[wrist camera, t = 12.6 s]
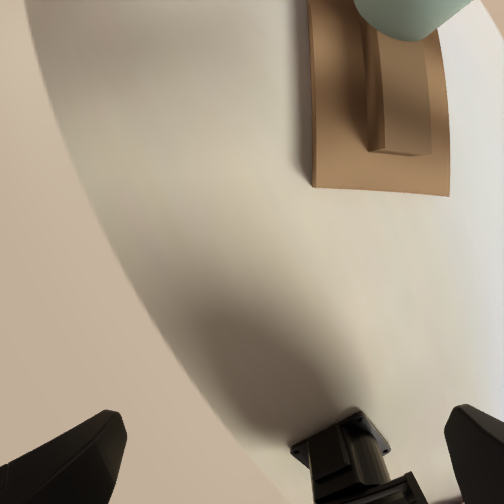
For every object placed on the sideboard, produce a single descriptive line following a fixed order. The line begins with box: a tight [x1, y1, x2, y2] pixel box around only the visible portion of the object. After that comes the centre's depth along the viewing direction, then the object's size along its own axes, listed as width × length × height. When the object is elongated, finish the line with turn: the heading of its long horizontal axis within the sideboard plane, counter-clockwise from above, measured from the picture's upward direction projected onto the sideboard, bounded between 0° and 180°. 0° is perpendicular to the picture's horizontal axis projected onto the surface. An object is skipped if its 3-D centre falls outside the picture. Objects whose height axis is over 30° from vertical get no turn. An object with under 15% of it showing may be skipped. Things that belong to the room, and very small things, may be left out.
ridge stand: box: [307, 0, 450, 197], centre depth 13 cm, size 20×8×4 cm, turn 0°
